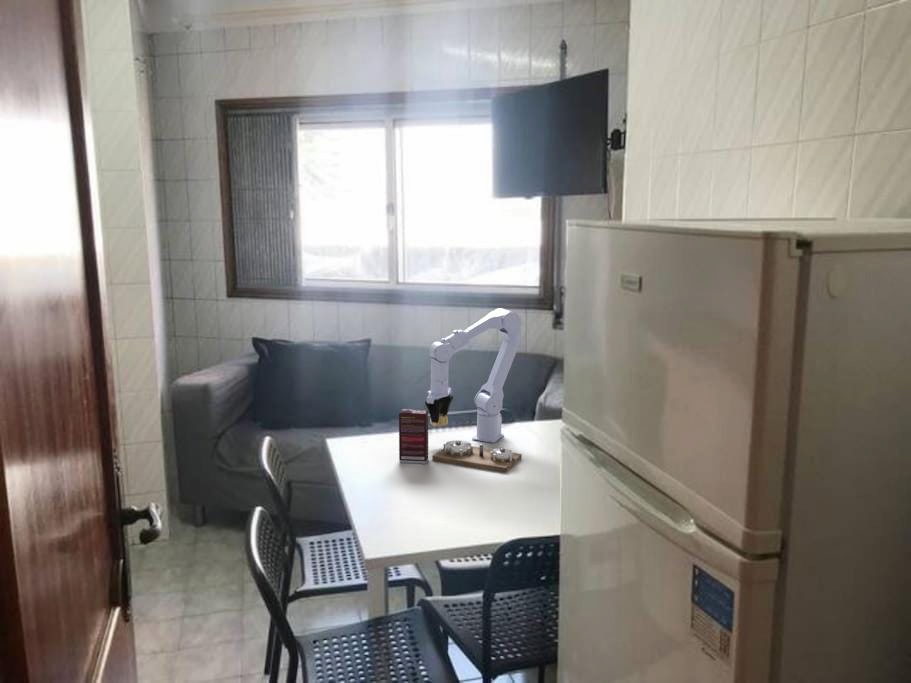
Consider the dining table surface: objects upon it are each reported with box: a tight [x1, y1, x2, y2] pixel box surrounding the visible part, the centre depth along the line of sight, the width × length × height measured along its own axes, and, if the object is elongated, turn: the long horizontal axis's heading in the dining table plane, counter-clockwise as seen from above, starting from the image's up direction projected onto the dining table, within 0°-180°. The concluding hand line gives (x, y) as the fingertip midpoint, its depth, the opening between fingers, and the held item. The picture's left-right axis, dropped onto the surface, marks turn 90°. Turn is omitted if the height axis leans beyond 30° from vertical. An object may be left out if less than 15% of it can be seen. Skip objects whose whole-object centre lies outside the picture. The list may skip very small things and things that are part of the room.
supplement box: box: [398, 408, 429, 465], centre depth 230 cm, size 9×5×16 cm, turn 84°
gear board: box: [432, 439, 522, 474], centre depth 233 cm, size 14×24×5 cm, turn 66°
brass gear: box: [429, 413, 449, 427], centre depth 246 cm, size 6×6×3 cm
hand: (439, 419), depth 246 cm, fingers closed on brass gear, 6 cm apart
